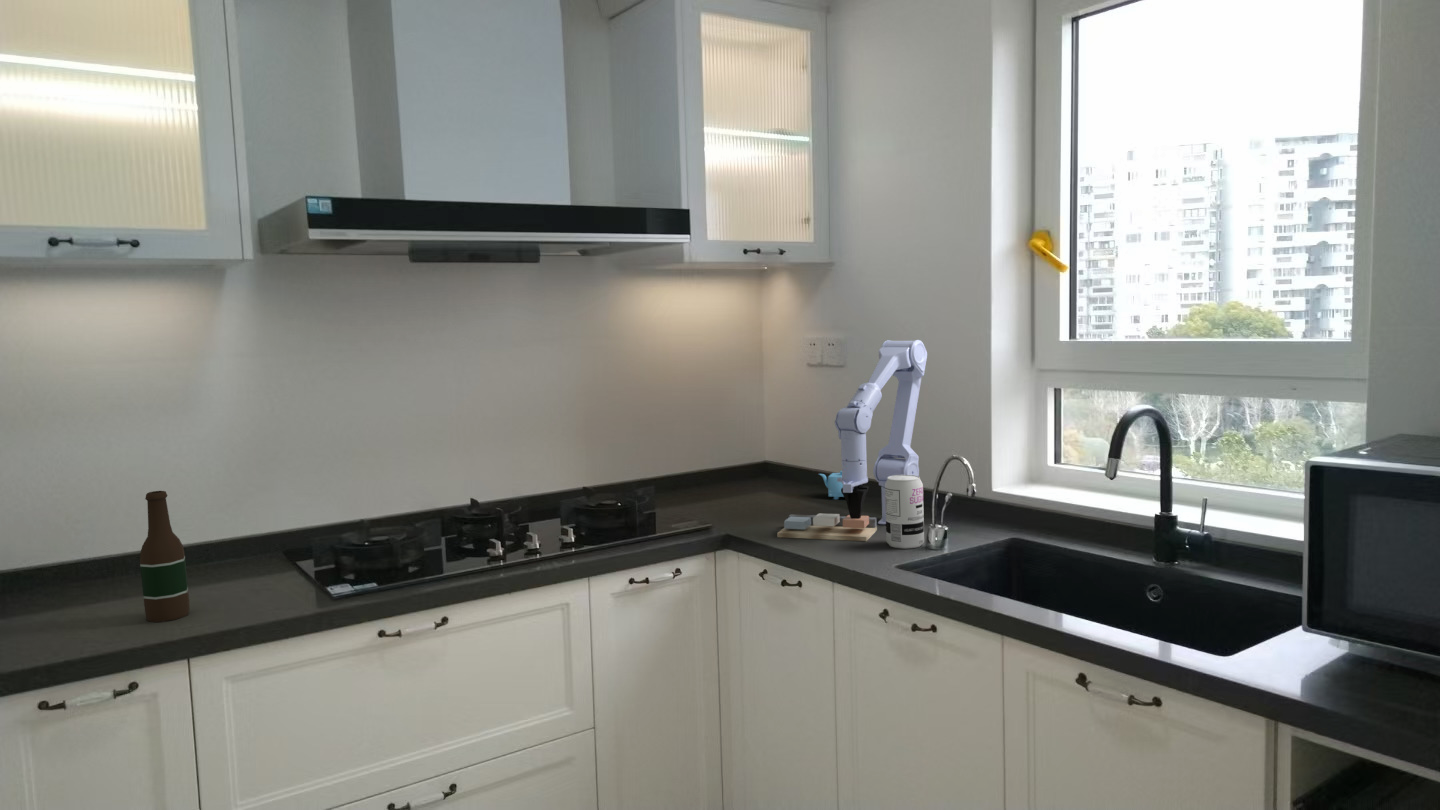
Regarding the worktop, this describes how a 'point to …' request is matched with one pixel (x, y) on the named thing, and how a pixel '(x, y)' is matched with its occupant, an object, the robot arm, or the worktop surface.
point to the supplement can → (904, 511)
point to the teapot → (833, 485)
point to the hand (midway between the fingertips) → (855, 518)
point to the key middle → (826, 519)
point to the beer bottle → (163, 565)
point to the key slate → (797, 523)
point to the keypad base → (831, 531)
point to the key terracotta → (855, 522)
